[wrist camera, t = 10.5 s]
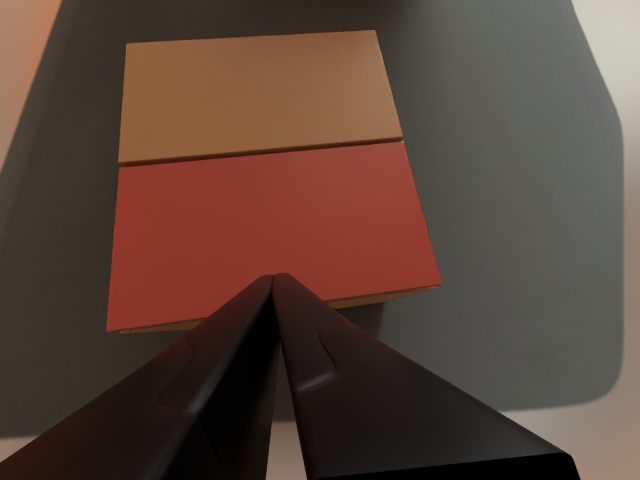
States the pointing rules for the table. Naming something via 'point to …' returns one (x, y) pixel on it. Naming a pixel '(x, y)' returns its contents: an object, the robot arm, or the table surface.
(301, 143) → the carton
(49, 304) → the table surface
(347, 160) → the flap
